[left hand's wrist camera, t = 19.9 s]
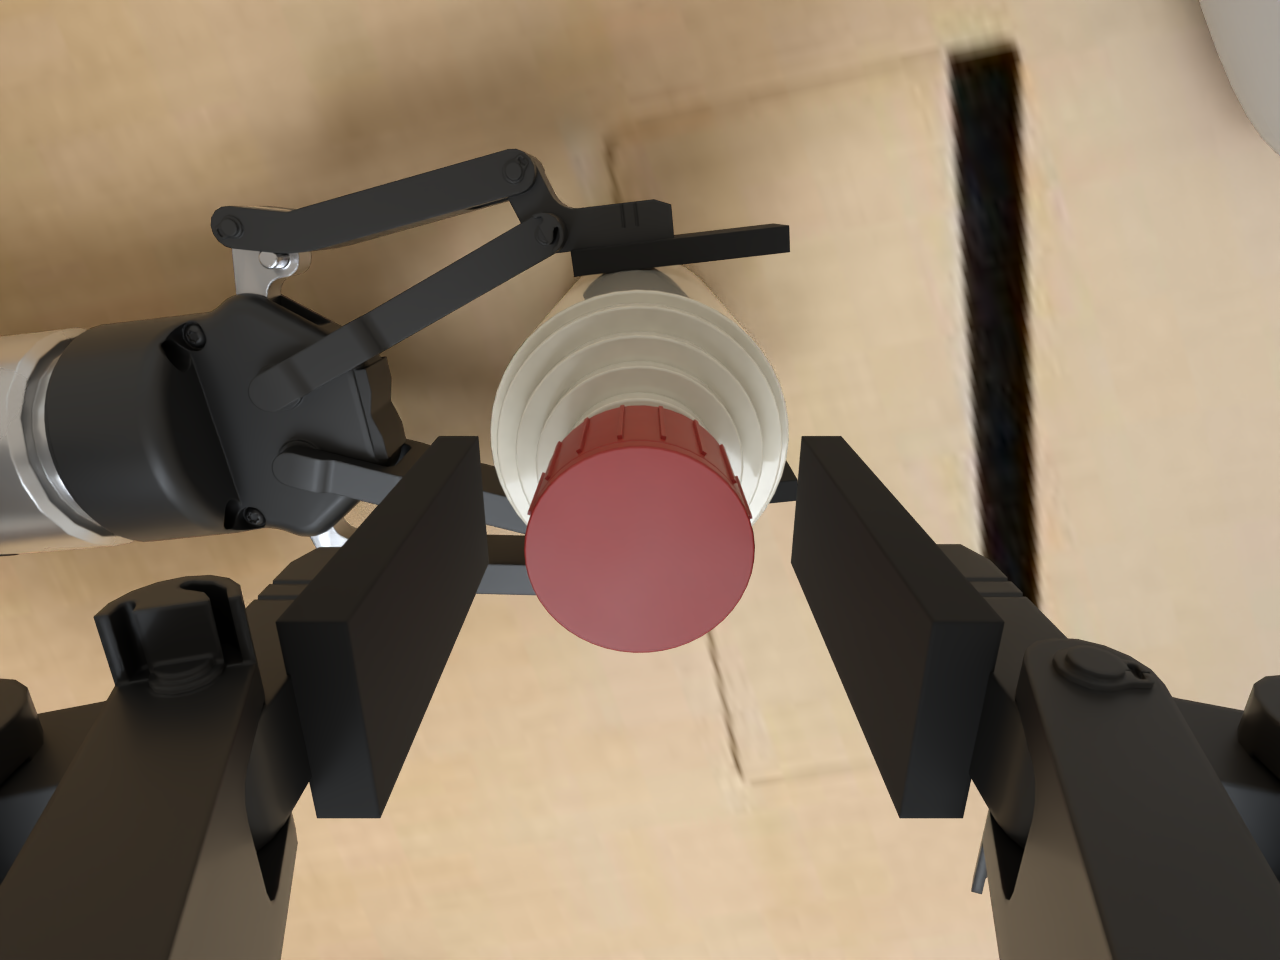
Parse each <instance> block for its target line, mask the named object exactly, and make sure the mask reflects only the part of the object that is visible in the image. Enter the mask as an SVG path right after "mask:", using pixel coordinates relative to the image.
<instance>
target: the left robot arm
mask: <svg viewBox="0 0 1280 960" xmlns="http://www.w3.org/2000/svg"><path fill="white" fill-rule="evenodd" d="M488 564H489V557H488V545H487V533H486V521H485V510H484V498H483V486H482V474H481V463H480V451H479V439H478V436H439V437H438V438H437V439H436V440H435V441H434V442H433V443H432V445H431V446H430V447H429V448H428V449H427V450H426V451H425V452H424V454H423V455H422V456H421V457H420V458H419V459H418V460H417V462H416V463H415V464H414V465H413V466H412V467H411V468H410V470H409V471H408V472H407V473H406V474H405V475H404V476H403V477H402V479H401V480H400V481H399V482H398V483H397V484H396V485H395V487H394V488H393V489H392V490H391V491H390V492H389V493H388V494H387V496H386V497H385V498H384V499H383V500H382V501H381V502H380V504H379V505H378V506H377V507H376V508H375V509H374V510H373V512H372V513H371V514H370V515H369V516H368V517H367V518H366V519H365V521H364V522H363V523H362V524H361V525H360V526H359V527H358V529H357V530H356V531H355V532H354V533H353V534H352V535H351V536H350V538H349V539H348V540H347V541H346V542H345V543H344V544H343V546H342V547H318V548H316V549H315V550H313V551H311V552H309V553H307V554H305V555H304V556H302V557H300V558H298V559H296V560H294V561H293V562H291V563H290V564H289V565H288V566H287V567H286V568H285V569H284V570H283V571H282V572H281V573H280V574H279V575H278V576H277V577H276V578H275V579H274V580H273V584H269V585H268V586H267V587H266V588H265V589H264V590H263V591H262V592H261V593H260V594H259V595H258V600H253V601H252V602H251V603H250V604H249V605H248V607H247V608H246V609H245V605H244V600H243V596H242V592H241V587H240V585H239V584H237V583H236V582H234V581H233V580H231V579H230V578H225V577H219V576H213V575H203V576H185V577H181V578H176V579H171V580H166V581H161V582H157V583H154V584H151V585H148V586H145V587H143V588H140V589H137V590H134V591H131V592H129V593H127V594H125V595H124V596H122V597H120V598H118V599H116V600H114V601H112V602H110V603H108V604H107V605H106V606H105V607H104V608H103V609H102V610H101V611H100V612H98V613H97V614H96V615H95V616H94V620H95V623H96V626H97V629H98V633H99V636H100V639H101V642H102V645H103V648H104V651H105V655H106V658H107V661H108V664H109V667H110V670H111V673H112V677H113V680H114V683H115V687H114V689H113V691H112V692H111V694H110V696H109V697H108V699H107V701H104V702H99V703H93V704H88V705H83V706H77V707H72V708H67V709H61V710H56V711H51V712H46V713H40V714H37V712H36V710H35V707H34V704H33V701H32V699H31V696H30V693H29V691H28V688H27V687H26V686H24V685H23V684H21V683H20V682H18V681H17V680H10V679H0V960H281V954H282V947H283V940H284V933H285V926H286V919H287V912H288V906H289V899H290V892H291V885H292V878H293V871H294V865H295V858H296V851H297V844H298V843H297V835H296V828H295V824H294V819H293V815H292V810H293V808H294V807H295V805H296V803H297V802H298V800H299V798H300V796H301V795H302V793H303V791H304V789H305V788H306V786H307V784H308V782H309V783H310V787H311V792H312V797H313V801H314V806H315V811H316V816H317V818H381V815H382V813H383V811H384V808H385V806H386V804H387V801H388V799H389V797H390V794H391V792H392V790H393V787H394V785H395V782H396V780H397V778H398V775H399V773H400V771H401V768H402V766H403V764H404V761H405V759H406V757H407V754H408V752H409V750H410V747H411V745H412V743H413V740H414V738H415V735H416V733H417V731H418V728H419V726H420V724H421V721H422V719H423V717H424V714H425V712H426V710H427V707H428V705H429V703H430V700H431V698H432V696H433V693H434V691H435V688H436V686H437V684H438V681H439V679H440V677H441V674H442V672H443V670H444V667H445V665H446V663H447V660H448V658H449V656H450V653H451V651H452V649H453V646H454V644H455V641H456V639H457V637H458V634H459V632H460V630H461V627H462V625H463V623H464V620H465V618H466V616H467V613H468V611H469V609H470V606H471V604H472V602H473V599H474V597H475V594H476V592H477V590H478V587H479V585H480V583H481V580H482V578H483V576H484V573H485V571H486V569H487V566H488ZM791 564H792V566H793V569H794V571H795V573H796V576H797V578H798V580H799V583H800V585H801V587H802V590H803V592H804V594H805V597H806V599H807V602H808V604H809V606H810V609H811V611H812V613H813V616H814V618H815V620H816V623H817V625H818V627H819V630H820V632H821V634H822V637H823V639H824V641H825V644H826V646H827V649H828V651H829V653H830V656H831V658H832V660H833V663H834V665H835V667H836V670H837V672H838V674H839V677H840V679H841V681H842V684H843V686H844V688H845V691H846V693H847V696H848V698H849V700H850V703H851V705H852V707H853V710H854V712H855V714H856V717H857V719H858V721H859V724H860V726H861V728H862V731H863V733H864V735H865V738H866V740H867V743H868V745H869V747H870V750H871V752H872V754H873V757H874V759H875V761H876V764H877V766H878V768H879V771H880V773H881V775H882V778H883V780H884V782H885V785H886V787H887V790H888V792H889V794H890V797H891V799H892V801H893V804H894V806H895V808H896V811H897V813H898V815H899V818H963V815H964V811H965V806H966V801H967V797H968V792H969V787H970V783H971V779H972V780H973V782H974V784H975V786H976V787H977V789H978V791H979V792H980V794H981V796H982V798H983V799H984V801H985V803H986V805H987V806H988V808H989V811H988V815H987V819H986V824H985V828H984V832H983V837H982V841H981V846H980V850H979V854H978V859H977V863H976V867H975V872H974V876H973V883H972V890H971V892H975V893H979V894H982V891H983V887H984V883H985V879H986V878H987V877H988V883H989V890H990V897H991V904H992V911H993V917H994V924H995V931H996V938H997V945H998V952H999V958H1000V960H1280V675H1277V676H1266V677H1264V678H1262V679H1261V680H1259V681H1258V682H1256V683H1255V684H1254V685H1253V688H1252V691H1251V693H1250V696H1249V699H1248V701H1247V704H1246V707H1245V710H1244V711H1242V710H1237V709H1232V708H1226V707H1221V706H1216V705H1210V704H1205V703H1200V702H1194V701H1189V700H1183V699H1178V698H1174V697H1172V696H1171V694H1170V693H1169V691H1168V689H1167V687H1166V686H1165V684H1164V683H1163V682H1162V681H1161V680H1160V679H1159V678H1158V677H1157V675H1156V674H1155V673H1154V672H1153V671H1152V670H1151V669H1149V668H1148V667H1146V666H1145V665H1143V664H1142V663H1140V662H1138V661H1137V660H1135V659H1134V658H1132V657H1131V656H1129V655H1126V654H1124V653H1121V652H1119V651H1116V650H1114V649H1112V648H1109V647H1107V646H1104V645H1100V644H1096V643H1092V642H1088V641H1083V640H1079V639H1068V638H1067V637H1066V636H1065V635H1064V634H1063V633H1062V632H1061V631H1060V630H1059V629H1058V628H1057V627H1056V626H1055V625H1054V624H1053V623H1052V622H1051V621H1050V620H1049V619H1048V618H1047V617H1046V616H1045V615H1044V614H1043V613H1042V612H1041V611H1040V610H1039V609H1038V608H1037V607H1036V606H1035V605H1034V604H1033V603H1032V602H1031V601H1030V600H1029V599H1028V598H1027V597H1023V595H1022V594H1023V593H1022V592H1021V591H1020V590H1019V589H1018V588H1017V587H1016V586H1015V585H1014V584H1013V583H1012V582H1008V580H1007V577H1006V576H1005V575H1004V574H1003V573H1002V572H1001V571H1000V570H999V569H998V568H997V567H996V566H995V565H994V564H993V563H992V562H991V561H990V560H989V559H987V558H985V557H983V556H981V555H980V554H978V553H976V552H974V551H972V550H970V549H968V548H967V547H965V546H963V545H961V544H936V543H935V542H934V541H933V540H932V539H931V538H930V536H929V535H928V534H927V533H926V532H925V531H924V530H923V529H922V527H921V526H920V525H919V524H918V523H917V522H916V521H915V519H914V518H913V517H912V516H911V515H910V514H909V513H908V512H907V510H906V509H905V508H904V507H903V506H902V505H901V504H900V502H899V501H898V500H897V499H896V498H895V497H894V496H893V494H892V493H891V492H890V491H889V490H888V489H887V488H886V487H885V485H884V484H883V483H882V482H881V481H880V480H879V479H878V477H877V476H876V475H875V474H874V473H873V472H872V471H871V470H870V468H869V467H868V466H867V465H866V464H865V463H864V462H863V460H862V459H861V458H860V457H859V456H858V455H857V454H856V452H855V451H854V450H853V449H852V448H851V447H850V446H849V445H848V443H847V442H846V441H845V440H844V439H843V438H842V437H841V436H802V439H801V451H800V463H799V474H798V486H797V498H796V510H795V521H794V533H793V545H792V557H791Z"/></svg>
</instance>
